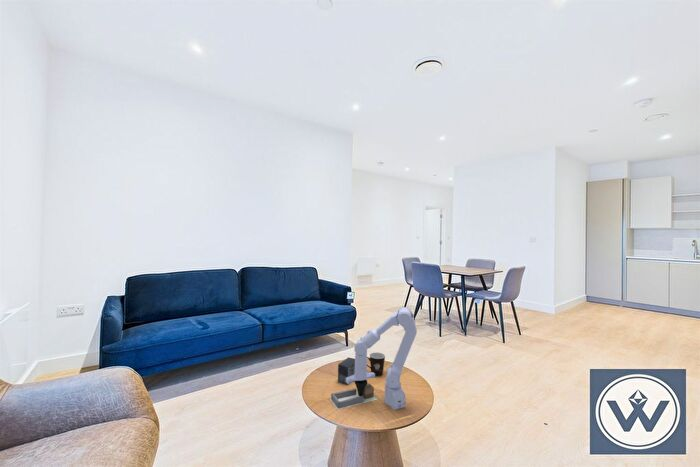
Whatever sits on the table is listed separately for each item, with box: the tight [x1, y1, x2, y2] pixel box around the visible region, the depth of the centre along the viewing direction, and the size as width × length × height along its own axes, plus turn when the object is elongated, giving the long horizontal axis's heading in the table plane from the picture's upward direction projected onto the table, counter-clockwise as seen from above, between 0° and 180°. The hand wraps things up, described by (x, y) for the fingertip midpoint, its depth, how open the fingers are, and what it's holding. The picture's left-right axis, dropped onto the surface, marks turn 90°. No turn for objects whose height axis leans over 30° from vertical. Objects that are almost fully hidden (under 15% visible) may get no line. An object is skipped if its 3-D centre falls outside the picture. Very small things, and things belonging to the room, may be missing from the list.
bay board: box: [329, 387, 378, 410], centre depth 138 cm, size 9×20×4 cm, turn 116°
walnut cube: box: [362, 382, 375, 399], centre depth 141 cm, size 4×4×4 cm
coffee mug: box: [367, 352, 386, 377], centre depth 167 cm, size 12×9×10 cm
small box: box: [337, 357, 355, 386], centre depth 157 cm, size 11×6×10 cm, turn 149°
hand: (360, 395), depth 140 cm, fingers closed
